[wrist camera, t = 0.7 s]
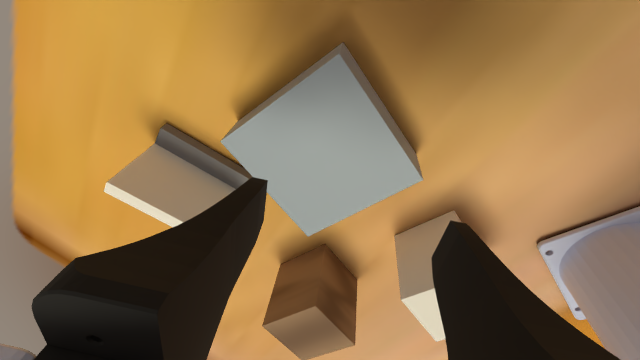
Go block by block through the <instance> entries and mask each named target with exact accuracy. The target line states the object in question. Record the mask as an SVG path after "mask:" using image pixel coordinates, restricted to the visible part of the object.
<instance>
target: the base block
mask: <svg viewBox="0 0 640 360" xmlns="http://www.w3.org/2000/svg"><path fill="white" fill-rule="evenodd" d="M220 142H221V143H222V144H223V145H224V146H225V147H226V148H227V149H228V150H229V152H230V153H231V154H232V155H233V156H234V157H235V158H236V159H237V160H238V161H239V162H240V163H241V165H242V166H243V167H244V168H245V169H246V170H247V171H248V172H249V173H250V174H251V175H252V176H253V177H255V178H260V179H264V180H268V183H267V193H268V194H269V195H270V196H271V197H272V198H273V199H274V200H275V201H276V202H277V204H278V205H279V206H280V207H281V208H282V209H283V210H284V211H285V212H286V213H287V214H288V215H289V217H290V218H291V219H292V220H293V221H294V222H295V223H296V224H297V225H298V226H299V227H300V228H301V230H302V231H303V232H304V233H305V234H306V235H307V236H310V235H312V234H314V233H316V232H318V231H320V230H322V229H325V228H327V227H329V226H331V225H333V224H335V223H337V222H339V221H341V220H343V219H345V218H347V217H349V216H351V215H353V214H355V213H357V212H359V211H361V210H363V209H365V208H367V207H369V206H371V205H373V204H375V203H377V202H379V201H381V200H383V199H385V198H387V197H389V196H391V195H393V194H395V193H397V192H399V191H401V190H403V189H406V188H408V187H410V186H412V185H414V184H416V183H418V182H420V181H422V180H423V177H422V174H421V170H420V166H419V162H418V159H417V155H416V153H415V152H414V150H413V149H412V147H411V145H410V144H409V142H408V141H407V139H406V138H405V136H404V135H403V133H402V132H401V130H400V129H399V127H398V126H397V124H396V122H395V121H394V119H393V118H392V116H391V115H390V113H389V112H388V110H387V109H386V107H385V106H384V104H383V102H382V101H381V99H380V98H379V96H378V95H377V93H376V92H375V90H374V89H373V87H372V86H371V84H370V82H369V81H368V79H367V78H366V76H365V75H364V73H363V72H362V70H361V69H360V67H359V66H358V64H357V63H356V61H355V59H354V58H353V56H352V55H351V53H350V52H349V50H348V49H347V47H346V46H345V44H344V43H341V44H340V45H339V46H337V47H336V48H335V49H333V50H332V51H331V52H329V53H328V54H327V55H325V56H324V57H323V58H321V59H320V60H319V61H317V62H316V63H315V64H313V65H312V66H311V67H309V68H308V69H307V70H305V71H304V72H303V73H301V74H300V75H299V76H297V77H296V78H295V79H293V80H292V81H291V82H289V83H288V84H287V85H285V86H284V87H283V88H281V89H280V90H279V91H277V92H276V93H275V94H273V95H272V96H271V97H269V98H268V99H267V100H265V101H264V102H263V103H261V104H260V105H259V106H257V107H256V108H255V109H253V110H252V111H251V112H249V113H248V114H247V115H245V116H244V117H243V118H241V119H240V120H239V121H238V122H237V123H236V124H235V125H234V126H233V127H232V129H231V130H230V131H229V132H228V133H227V134H226V135H225V137H224V138H223V139H222V140H221V141H220Z"/></svg>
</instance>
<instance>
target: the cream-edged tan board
mask: <svg viewBox="0 0 640 360" xmlns="http://www.w3.org/2000/svg"><path fill="white" fill-rule="evenodd" d="M252 177H253V176H252V175H251V174H250V173H249V172H248V171H247V170H246V169H245V168H243V167H241V166H239V165H238V164H236V163H234V162H233V161H231V160H229V159H227V158H226V157H224V156H222V155H220V154H219V153H217V152H215V151H214V150H212V149H210V148H208V147H207V146H205V145H203V144H202V143H200V142H198V141H196V140H195V139H193V138H191V137H189V136H188V135H186V134H184V133H183V132H181V131H179V130H177V129H176V128H174V127H172V126H171V125H169V124H165V125H164V126H163V127H161V128H160V131H159V134H158V136H157V139H156V142H155V144H153V145H152V146H151V147H150V148H149V149H147V150H146V151H145V152H144V153H142V154H141V155H140V156H139V157H137V158H136V159H135V160H134V161H132V162H131V163H130V164H129V165H127V166H126V167H125V168H124V169H122V170H121V171H120V172H119V173H117V174H116V175H115V176H114V177H112V178H111V179H110V180H109V181H107V183H106V186H105V189H104V192H106V193H108V194H109V195H111V196H113V197H115V198H117V199H119V200H121V201H123V202H125V203H127V204H129V205H131V206H133V207H135V208H137V209H139V210H140V211H142V212H144V213H146V214H148V215H150V216H152V217H154V218H156V219H158V220H160V221H162V222H164V223H166V224H168V225H169V226H171V227H175V226H177V225H179V224H181V223H183V222H185V221H187V220H189V219H191V218H193V217H195V216H196V215H198V214H200V213H202V212H203V211H205V210H206V209H208V208H210V207H211V206H213V205H214V204H216V203H217V202H219V201H220V200H222V199H223V198H225V197H226V196H227V195H229V194H230V193H232V192H233V191H234V190H236V189H237V188H238V187H240V186H241V185H242V184H243V183H245V182H246V181H247V180H249V179H250V178H252Z"/></svg>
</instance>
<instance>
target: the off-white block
mask: <svg viewBox="0 0 640 360" xmlns="http://www.w3.org/2000/svg"><path fill="white" fill-rule="evenodd" d="M450 220H452V221H457V222H461V220H460V219H459V217H458V216H457V214H456V212H455V211H454V210H453V211H451V212H448V213H446V214H444V215H441V216H439V217H437V218H434V219H432V220H430V221H427V222H425V223H423V224H421V225H418V226H416V227H414V228H411V229H409V230H407V231H404V232H402V233H400V234H397V235H395V236H394V237H395V247H396V257H397V266H398V276H399V286H400V295H401V300H402V302H403V303H404V304H405V305H406V306H407V308H408V309H409V310H410V311H411V312H412V313H413V315H414V316H415V317H416V318H417V319H418V321H419V322H420V323H421V324H422V325H423V327H424V328H425V329H426V330H427V331H428V332H429V334H430V335H431V336H432V337H433V338H434V340H435V341H436V342H437V341H441V340H444V339H445V333H444V329H443V324H442V320H441V316H440V311H439V307H438V302H437V298H436V293H435V288H434V283H433V275H432V259H431V257H432V255H433V253H434V251H435V249H436V248H437V246H438V244H439V242H440V240H441V238H442V236H443V234H444V232H445V230H446V228H447V226H448V224H449V222H450ZM461 223H462V222H461Z"/></svg>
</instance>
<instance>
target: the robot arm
mask: <svg viewBox="0 0 640 360" xmlns="http://www.w3.org/2000/svg"><path fill="white" fill-rule="evenodd" d="M267 183H268V180H264V179H260V178H255V177H252V178H250V179H249V180H247V181H246V182H245V183H243V184H242V185H241V186H240V187H238V188H237V189H236V190H234V191H233V192H232V193H230V194H229V195H227V196H226V197H225V198H223V199H222V200H220V201H219V202H217V203H216V204H214V205H213V206H211V207H210V208H208V209H206V210H205V211H203V212H202V213H200V214H198V215H196V216H195V217H193V218H191V219H189V220H187V221H185V222H183V223H181V224H179V225H177V226H175V227H173V228H170V229H168V230H165V231H163V232H161V233H158V234H156V235H153V236H151V237H148V238H145V239H143V240H140V241H137V242H134V243H131V244H127V245H124V246H121V247H118V248H114V249H111V250H107V251H103V252H99V253H95V254H91V255H87V256H82V257H78V258H75V259H74V260H73V261H72V262H71V263H70V264H69V265H67V266H66V267H65V268H64V269H63V270H62V271H61V272H60V273H59V274H58V275H57V276H56V277H55V278H54V279H53V280H52V281H51V282H50V283H49V284H48V285H47V286H46V287H45V288H44V289H43V290H42V291H41V292H40V293H39V294H38V295H37V296H36V297H35V298H34V299H33V303H32V311H33V314H34V318H35V320H36V322H37V324H38V326H39V328H40V330H41V332H42V334H43V336H44V339H45V341H46V343H47V345H46V346H45V348H44V349H43V350H42V351H41V352H40V353H39V354H38V356H37V357H36V356H35V355H34V354H33V353H31V352H30V351H27V350H25V349H22V348H18V347H13V346H8V345H4V344H0V360H206V359H207V356H208V353H209V351H210V348H211V345H212V342H213V339H214V337H215V334H216V331H217V328H218V326H219V323H220V320H221V317H222V315H223V312H224V309H225V307H226V304H227V301H228V299H229V297H230V294H231V292H232V290H233V288H234V286H235V284H236V282H237V280H238V278H239V276H240V274H241V272H242V270H243V268H244V266H245V264H246V262H247V260H248V258H249V255H250V253H251V251H252V249H253V247H254V245H255V243H256V241H257V238H258V235H259V232H260V229H261V226H262V223H263V220H264V211H265V202H266V193H267ZM537 248H538V250H539V251H540V253H541V255H542V257H543V259H544V261H545V263H546V265H547V266H548V268H549V270H550V272H551V274H552V276H553V278H554V280H555V281H556V283H557V285H558V287H559V289H560V291H561V293H562V295H563V296H564V298H565V300H566V302H567V304H568V306H569V308H570V310H571V311H572V313H573V315H574V317H575V318H576V319H578V320H583V319H587V320H588V322H589V324H590V325H591V327H592V328H593V330H594V331H595V333H596V335H597V336H598V338H599V339H600V341H601V342H602V344H603V346H604V347H605V349H604V348H603V347H601V346H600V345H598V344H597V343H595V342H594V341H593V340H591V339H590V338H588V337H587V336H586V335H584V334H583V333H582V332H580V331H579V330H578V329H576V328H575V327H574V326H572V325H571V324H570V323H568V322H567V321H566V320H564V319H563V318H562V317H561V316H559V315H558V314H557V313H556V312H554V311H553V310H552V309H551V308H550V307H549V306H547V305H546V304H545V303H544V302H543V301H542V300H540V299H539V298H538V297H537V296H536V295H535V294H534V293H533V292H531V291H530V290H529V289H528V288H527V287H526V286H525V285H524V284H523V283H522V282H521V281H520V280H519V279H518V278H517V277H516V276H515V275H514V274H513V273H512V272H511V271H510V270H509V269H508V268H507V267H506V266H505V265H504V264H503V263H502V262H501V261H500V260H499V258H498V257H497V256H496V255H495V254H494V253H493V252H492V251H491V250H490V249H489V247H488V246H487V245H486V244H485V243H484V242H483V241H482V240H481V239H480V238H479V236H478V235H477V234H476V233H475V232H474V231H473V230H472V229H471V228H470V227H469V226H468V225H467V224H466V223H461V222H457V221H452V220H450V222H449V224H448V226H447V228H446V230H445V232H444V234H443V236H442V238H441V240H440V242H439V244H438V246H437V248H436V249H435V251H434V253H433V255H432V257H431V259H432V275H433V283H434V288H435V293H436V298H437V302H438V307H439V311H440V316H441V320H442V324H443V329H444V333H445V339H446V344H447V351H448V360H640V206H639V207H636V208H633V209H630V210H628V211H625V212H622V213H619V214H616V215H614V216H611V217H608V218H605V219H602V220H599V221H597V222H594V223H591V224H588V225H585V226H582V227H580V228H577V229H574V230H571V231H568V232H565V233H563V234H560V235H557V236H554V237H551V238H549V239H546V240H543V241H541V242H539V243H538V245H537ZM549 250H550V251H549ZM547 251H548V252H547Z"/></svg>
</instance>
